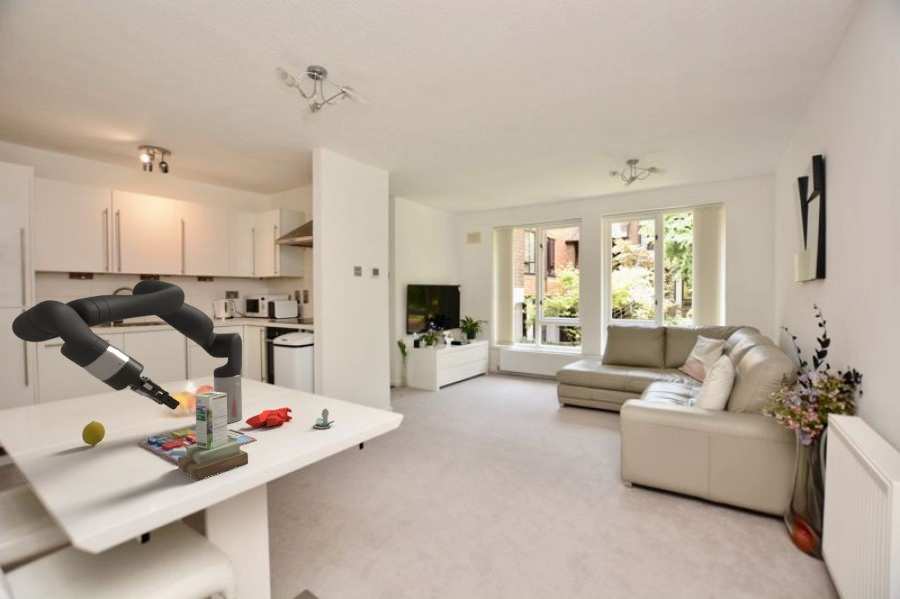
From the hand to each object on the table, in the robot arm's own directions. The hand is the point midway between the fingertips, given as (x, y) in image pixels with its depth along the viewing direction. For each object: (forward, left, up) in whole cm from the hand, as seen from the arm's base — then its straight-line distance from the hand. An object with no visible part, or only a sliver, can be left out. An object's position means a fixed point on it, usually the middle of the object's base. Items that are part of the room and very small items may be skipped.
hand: (170, 404), depth 107 cm
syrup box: (0, +10, -14) cm, 17 cm away
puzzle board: (-24, +15, -21) cm, 36 cm away
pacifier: (-4, +49, -20) cm, 53 cm away
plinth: (0, +10, -20) cm, 22 cm away
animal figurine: (-22, +38, -20) cm, 49 cm away
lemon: (-49, -6, -20) cm, 54 cm away
